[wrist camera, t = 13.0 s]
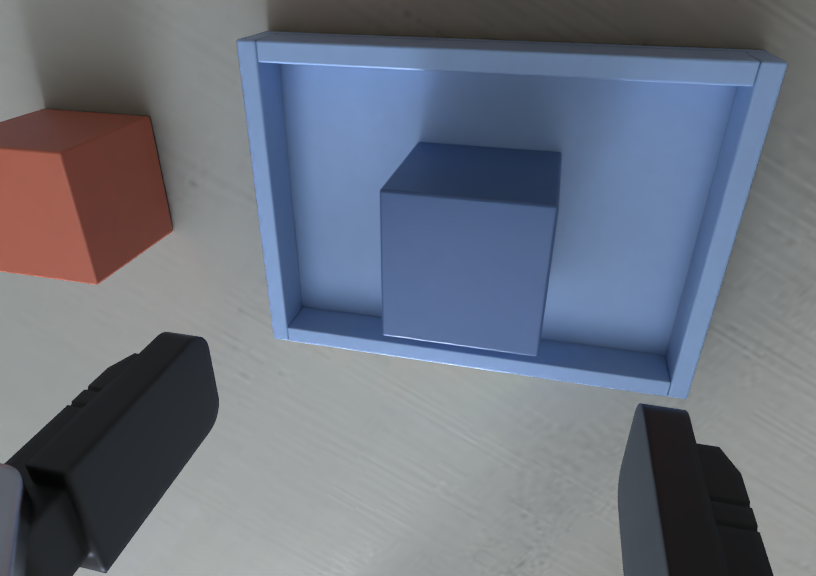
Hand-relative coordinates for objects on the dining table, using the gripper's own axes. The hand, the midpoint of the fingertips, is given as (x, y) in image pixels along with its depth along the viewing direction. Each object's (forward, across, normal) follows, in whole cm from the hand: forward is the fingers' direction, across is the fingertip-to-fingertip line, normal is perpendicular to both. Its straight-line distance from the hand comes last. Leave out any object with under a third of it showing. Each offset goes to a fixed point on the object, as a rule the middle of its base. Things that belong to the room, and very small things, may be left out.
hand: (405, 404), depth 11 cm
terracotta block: (+10, +14, 0) cm, 17 cm away
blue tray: (+10, 0, 0) cm, 10 cm away
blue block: (+10, 0, 0) cm, 10 cm away
